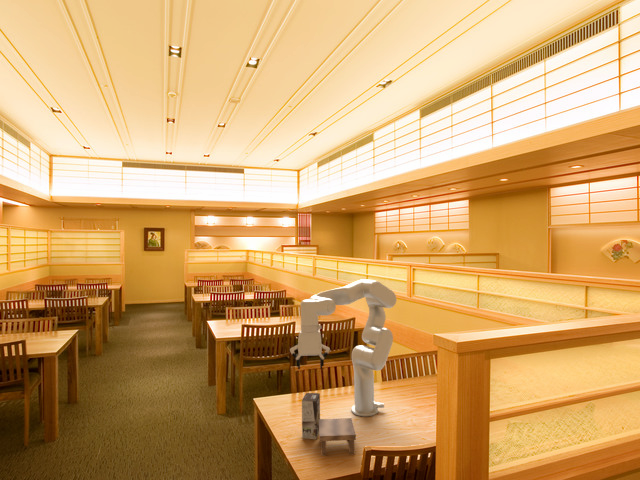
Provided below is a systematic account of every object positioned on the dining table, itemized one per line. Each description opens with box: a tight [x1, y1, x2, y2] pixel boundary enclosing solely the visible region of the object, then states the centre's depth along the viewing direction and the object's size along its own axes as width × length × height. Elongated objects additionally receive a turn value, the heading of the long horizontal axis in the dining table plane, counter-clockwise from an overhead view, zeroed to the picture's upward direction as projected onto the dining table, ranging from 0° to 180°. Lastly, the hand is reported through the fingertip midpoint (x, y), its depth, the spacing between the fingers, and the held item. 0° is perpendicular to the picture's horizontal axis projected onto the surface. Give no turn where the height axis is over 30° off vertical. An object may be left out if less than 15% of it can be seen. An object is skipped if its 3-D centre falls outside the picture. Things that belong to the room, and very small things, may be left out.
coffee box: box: [301, 392, 321, 440], centre depth 169 cm, size 9×6×16 cm
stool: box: [318, 417, 357, 457], centre depth 159 cm, size 14×14×8 cm
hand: (310, 367), depth 169 cm, fingers open, 9 cm apart
